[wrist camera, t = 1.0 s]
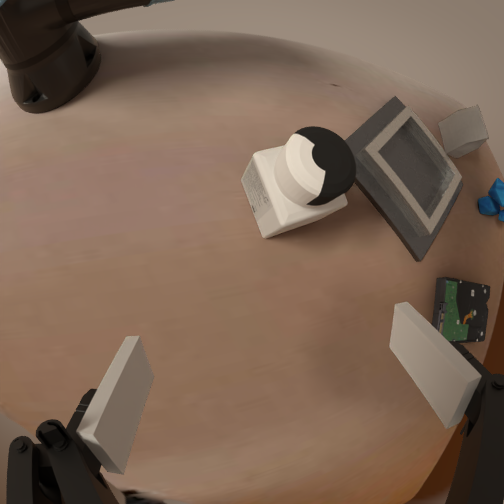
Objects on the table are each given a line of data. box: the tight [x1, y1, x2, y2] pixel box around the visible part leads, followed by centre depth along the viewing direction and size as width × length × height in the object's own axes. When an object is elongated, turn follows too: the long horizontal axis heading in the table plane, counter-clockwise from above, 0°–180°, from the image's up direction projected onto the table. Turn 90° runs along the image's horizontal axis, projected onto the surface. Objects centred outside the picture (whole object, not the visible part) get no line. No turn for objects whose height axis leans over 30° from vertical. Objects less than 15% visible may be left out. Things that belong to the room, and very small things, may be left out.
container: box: [241, 126, 356, 238], centre depth 29 cm, size 8×8×13 cm
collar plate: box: [345, 96, 463, 262], centre depth 38 cm, size 20×20×4 cm
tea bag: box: [438, 105, 489, 158], centre depth 39 cm, size 4×7×10 cm, turn 178°
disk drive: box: [432, 277, 490, 343], centre depth 39 cm, size 10×3×15 cm
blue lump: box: [478, 178, 504, 222], centre depth 40 cm, size 7×9×12 cm
